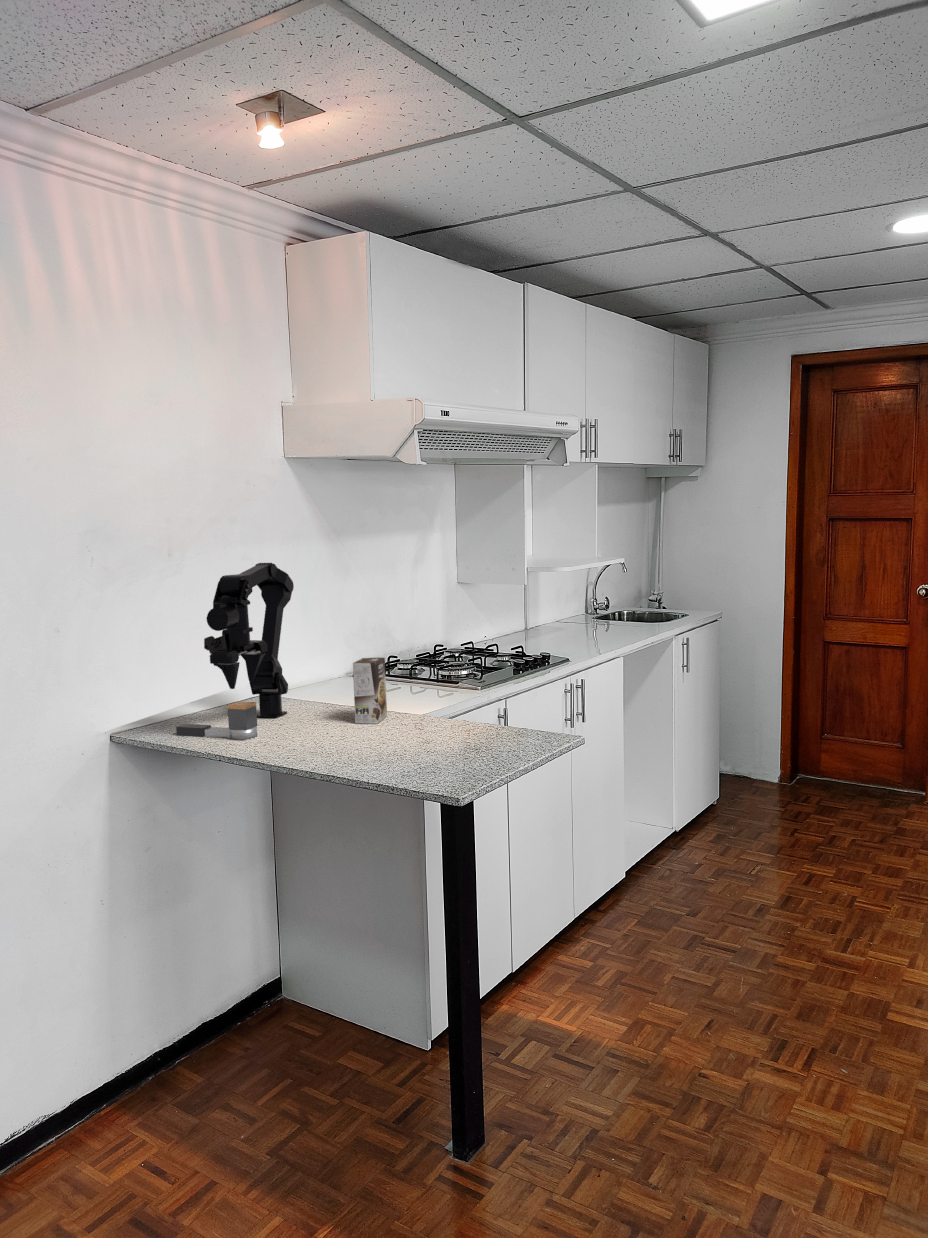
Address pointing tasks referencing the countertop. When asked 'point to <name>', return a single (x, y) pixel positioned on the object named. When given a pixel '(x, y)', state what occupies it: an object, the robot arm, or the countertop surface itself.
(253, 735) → the ratchet
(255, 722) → the grey block
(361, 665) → the coffee box
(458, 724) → the countertop surface
